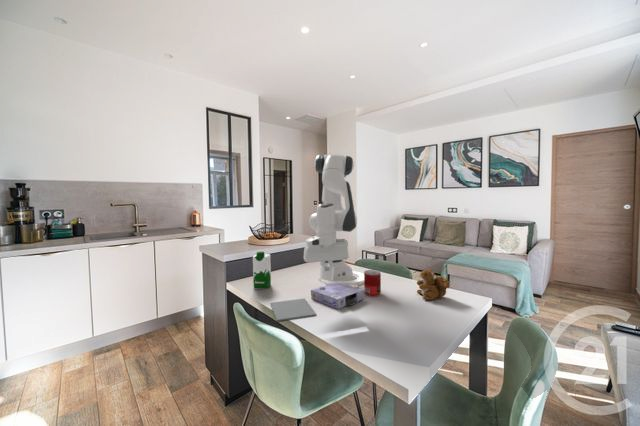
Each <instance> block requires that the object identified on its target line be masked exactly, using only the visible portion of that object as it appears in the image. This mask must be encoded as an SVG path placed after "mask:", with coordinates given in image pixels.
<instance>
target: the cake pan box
mask: <svg viewBox="0 0 640 426" xmlns="http://www.w3.org/2000/svg"><path fill="white" fill-rule="evenodd" d="M364 294H365V291H364V290H363V289H360V288H354V287H351V286H347V285H343V284H340V283H333V284H330V285H328V284H325V285H323V286H320V287H316V288H313V289H310V295H311V296H310V297H311V299H312V300H314V301H316V302H319V303H321V304H324V305H326V306H329V307H332V308H334V309H336V310H339V309H342V308H345V307H347V306H348V307H349V306H351V305H354V304H356V303H357V302H360V301H362V300H364Z"/></svg>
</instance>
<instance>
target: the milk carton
mask: <svg viewBox="0 0 640 426" xmlns="http://www.w3.org/2000/svg"><path fill="white" fill-rule="evenodd" d="M271 271H272V267H271V253H269V254H268V253H266V254H265V252H264V251H256V254H255V255H253V256H252V272H253V273H252V276H253V277H252V278H253V282H252V283H253V289H254V288H267V289H269V287H270V286H271V284H272V283H271V282H272V274H271V273H272V272H271Z"/></svg>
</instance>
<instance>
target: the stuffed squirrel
mask: <svg viewBox="0 0 640 426" xmlns="http://www.w3.org/2000/svg"><path fill="white" fill-rule="evenodd" d="M434 276H435V272H434V271H432V269H431V268H426V269H424V270H422V271H421V272H420V274H419V277H420V278H421V279H420V280H417V281H416V285H417V286H418V288H419V289H417V290H416V293H417V294H419V295H422V299H423V300H425V301H426V300H432V301H433V300H435V299H437V298H440V299H441V298H442V297H444V296H445V295H447V294H446V293H447V289H449V288H450V286H451V285H450V284H451V282H450V281H449V280H448V279H447V278H446V277H443V276H436V278H435V277H434Z"/></svg>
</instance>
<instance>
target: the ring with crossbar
mask: <svg viewBox="0 0 640 426" xmlns="http://www.w3.org/2000/svg"><path fill="white" fill-rule="evenodd" d="M352 271H353V274H354V275H356V276H358V277H357V279H356V280H350V281H328V280H322V279H321V281H320V282H321V283H323V284H325V285H330V284H333V283H340V284H343V285H347V286H351V287H354V288H357V289H360V287H359V286H360V285H363V284H364V273H363V272H360V271H354V270H352Z"/></svg>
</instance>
